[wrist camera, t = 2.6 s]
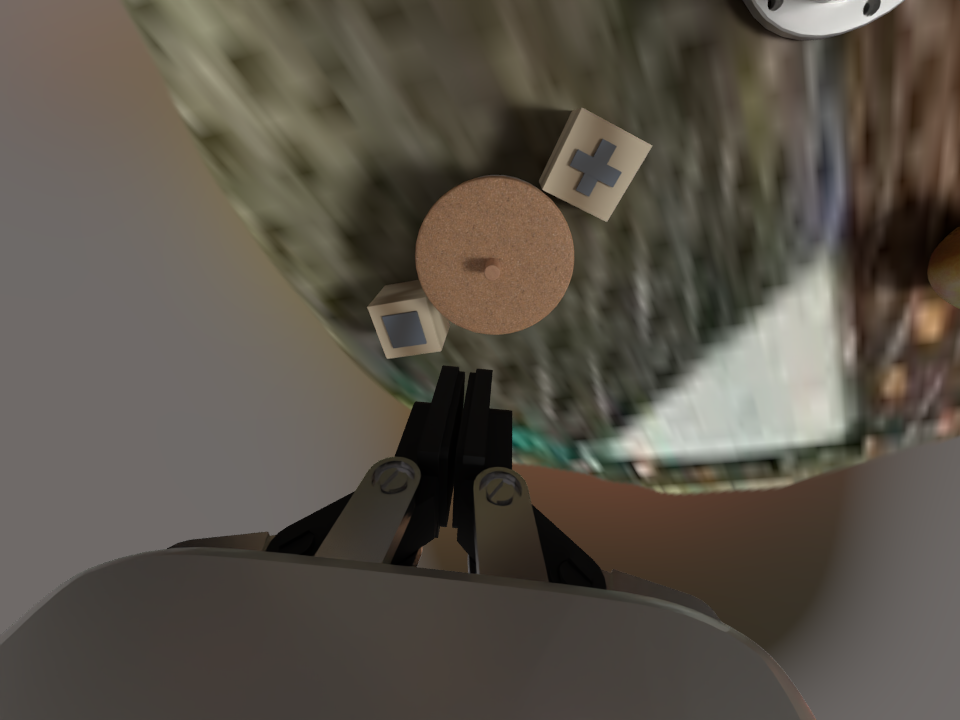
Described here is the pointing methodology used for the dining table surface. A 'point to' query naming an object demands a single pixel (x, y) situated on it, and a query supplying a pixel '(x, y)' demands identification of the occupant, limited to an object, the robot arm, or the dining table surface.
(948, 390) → the dining table surface
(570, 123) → the marked cube 2
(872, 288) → the dining table surface
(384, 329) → the marked cube 1
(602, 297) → the dining table surface
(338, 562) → the robot arm
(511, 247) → the lidded jar
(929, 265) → the fruit
